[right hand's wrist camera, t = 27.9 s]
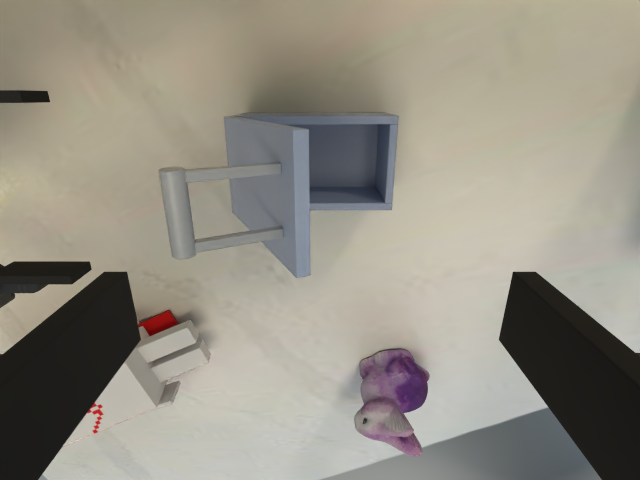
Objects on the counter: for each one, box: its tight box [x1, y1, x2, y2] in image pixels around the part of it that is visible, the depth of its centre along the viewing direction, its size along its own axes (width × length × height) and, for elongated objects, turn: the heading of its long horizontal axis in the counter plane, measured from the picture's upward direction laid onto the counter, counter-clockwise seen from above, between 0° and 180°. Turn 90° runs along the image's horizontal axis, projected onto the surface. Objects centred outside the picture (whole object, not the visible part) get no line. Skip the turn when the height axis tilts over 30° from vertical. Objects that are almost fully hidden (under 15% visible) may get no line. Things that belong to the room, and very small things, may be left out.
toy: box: [62, 310, 211, 447], centre depth 54 cm, size 12×13×30 cm
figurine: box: [354, 349, 430, 457], centre depth 53 cm, size 9×10×15 cm
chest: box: [234, 112, 398, 210], centre depth 43 cm, size 17×10×9 cm, turn 90°
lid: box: [159, 116, 310, 278], centre depth 30 cm, size 18×10×9 cm
